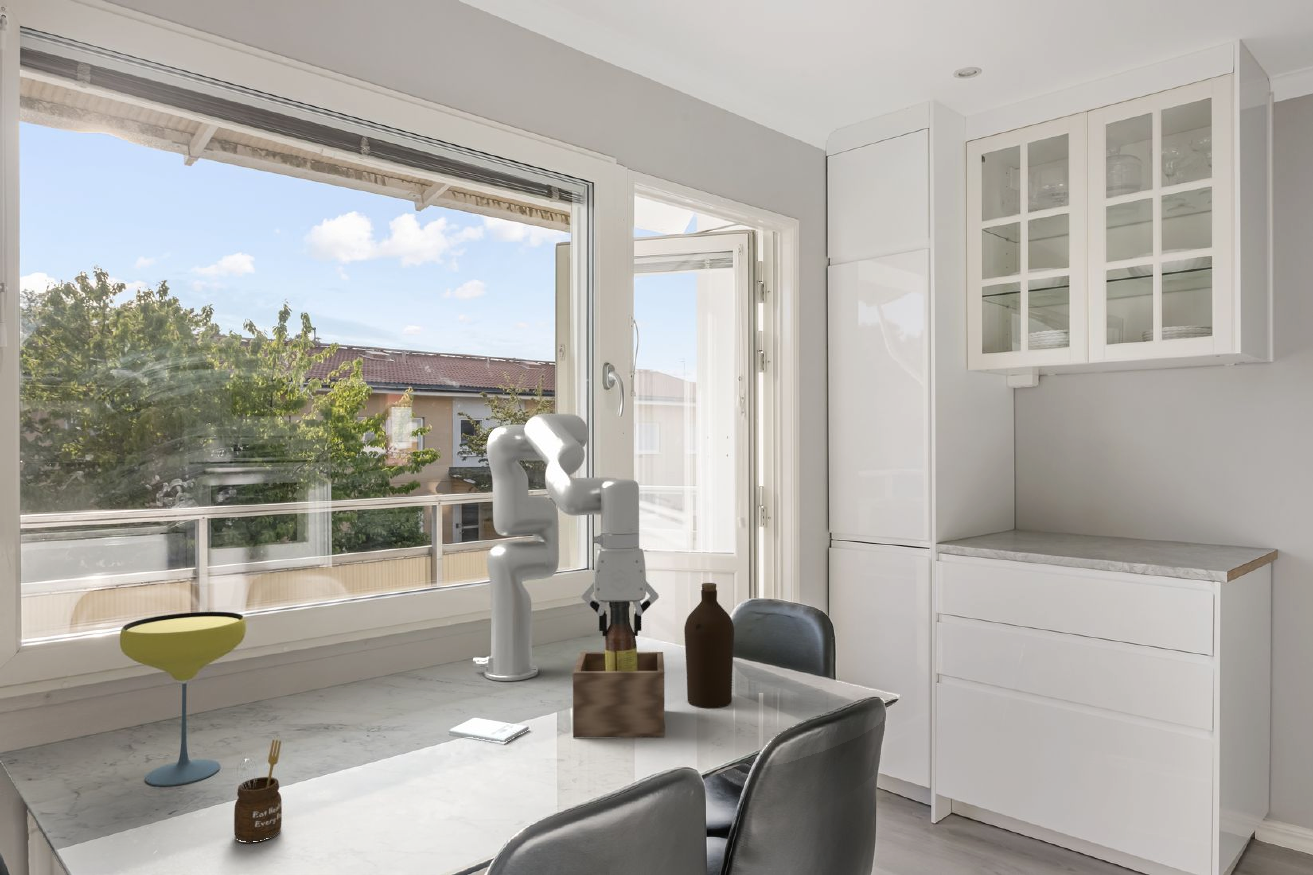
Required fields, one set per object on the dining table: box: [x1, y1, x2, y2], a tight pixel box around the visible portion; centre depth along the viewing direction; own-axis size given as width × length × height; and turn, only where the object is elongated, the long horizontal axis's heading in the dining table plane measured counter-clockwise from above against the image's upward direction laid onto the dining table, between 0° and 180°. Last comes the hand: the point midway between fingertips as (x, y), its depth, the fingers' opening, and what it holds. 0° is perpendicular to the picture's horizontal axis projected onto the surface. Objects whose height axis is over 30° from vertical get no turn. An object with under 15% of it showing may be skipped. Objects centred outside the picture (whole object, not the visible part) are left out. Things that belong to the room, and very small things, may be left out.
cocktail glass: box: [119, 611, 247, 787], centre depth 135 cm, size 18×18×25 cm
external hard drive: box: [448, 717, 530, 742], centre depth 155 cm, size 2×8×12 cm
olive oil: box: [683, 582, 735, 709], centre depth 174 cm, size 11×11×25 cm
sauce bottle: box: [604, 602, 638, 671], centre depth 160 cm, size 7×6×20 cm
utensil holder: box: [233, 739, 283, 842], centre depth 113 cm, size 6×6×12 cm
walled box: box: [572, 651, 666, 739], centre depth 160 cm, size 17×16×12 cm
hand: (620, 633), depth 160 cm, fingers closed on sauce bottle, 5 cm apart
